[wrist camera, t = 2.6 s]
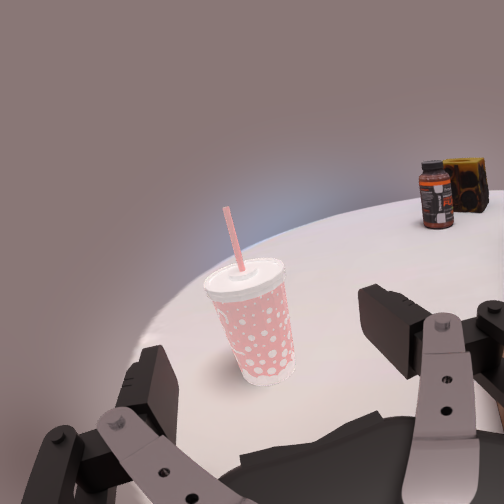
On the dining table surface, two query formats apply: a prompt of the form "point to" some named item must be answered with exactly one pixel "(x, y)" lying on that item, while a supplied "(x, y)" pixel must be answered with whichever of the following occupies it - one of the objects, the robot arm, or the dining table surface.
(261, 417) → the dining table surface
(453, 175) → the yellow tissue box cover
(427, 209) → the supplement bottle
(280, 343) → the beverage cup
